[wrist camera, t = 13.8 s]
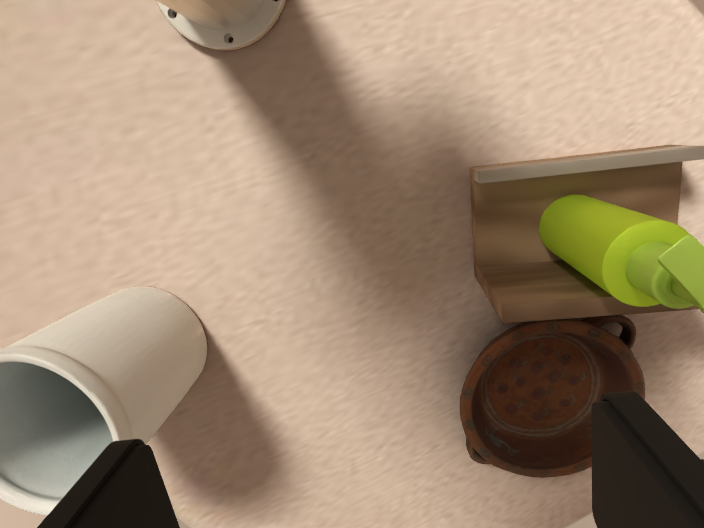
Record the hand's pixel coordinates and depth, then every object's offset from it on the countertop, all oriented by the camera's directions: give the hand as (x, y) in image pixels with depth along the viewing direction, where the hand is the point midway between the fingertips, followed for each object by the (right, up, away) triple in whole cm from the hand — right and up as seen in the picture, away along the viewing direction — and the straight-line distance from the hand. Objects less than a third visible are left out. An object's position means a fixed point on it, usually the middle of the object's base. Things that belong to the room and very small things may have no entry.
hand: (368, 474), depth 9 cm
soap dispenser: (+20, +8, +32) cm, 39 cm away
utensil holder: (-24, -4, +42) cm, 48 cm away
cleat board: (+21, +9, +34) cm, 41 cm away
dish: (+20, -8, +39) cm, 45 cm away
